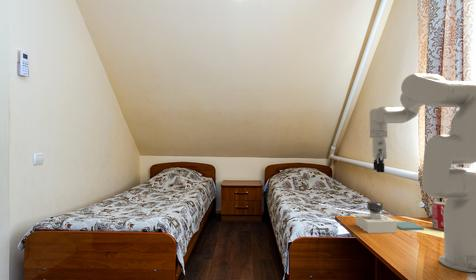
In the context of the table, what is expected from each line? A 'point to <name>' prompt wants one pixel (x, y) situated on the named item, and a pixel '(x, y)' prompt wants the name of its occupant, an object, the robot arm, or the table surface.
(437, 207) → the soda can
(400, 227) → the pad
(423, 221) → the table surface
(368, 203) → the handwheel peg
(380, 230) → the block
